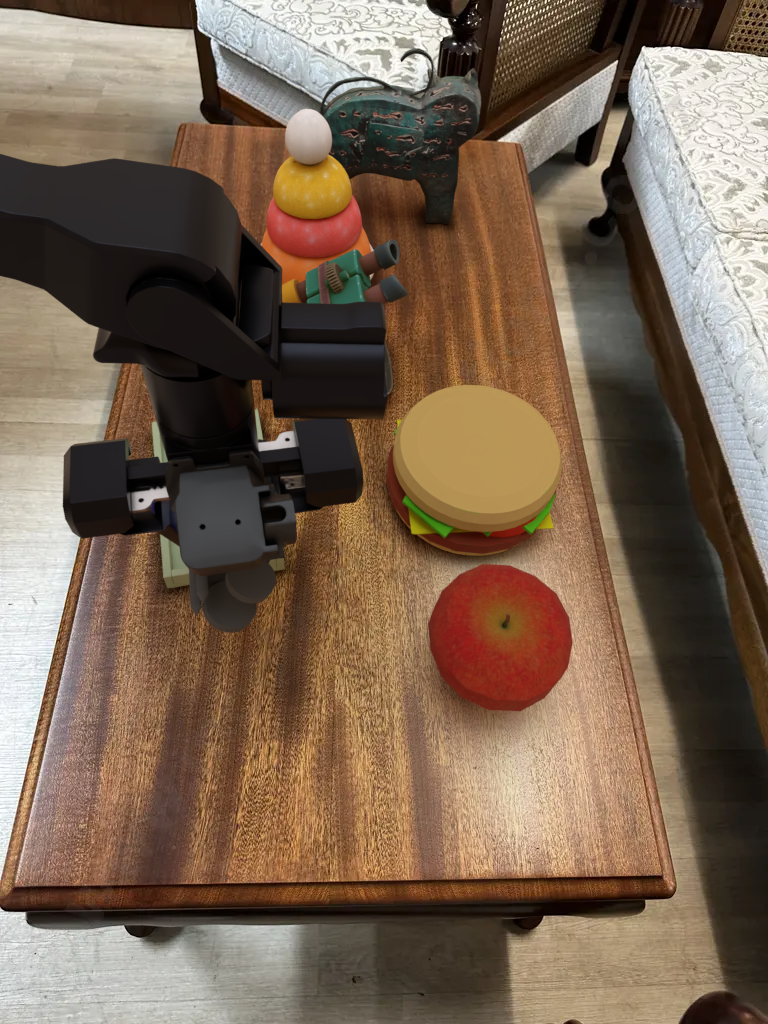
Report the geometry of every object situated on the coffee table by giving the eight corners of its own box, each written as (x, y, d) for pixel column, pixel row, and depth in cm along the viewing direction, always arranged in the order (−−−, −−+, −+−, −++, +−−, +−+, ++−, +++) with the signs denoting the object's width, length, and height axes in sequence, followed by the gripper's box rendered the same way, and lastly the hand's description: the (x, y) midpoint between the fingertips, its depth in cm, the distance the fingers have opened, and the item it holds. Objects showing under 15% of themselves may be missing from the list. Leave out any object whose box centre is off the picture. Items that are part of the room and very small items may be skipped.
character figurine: (192, 646, 52) (189, 478, 60) (292, 632, 53) (277, 467, 61) (165, 600, 45) (166, 418, 53) (280, 584, 46) (264, 406, 54)
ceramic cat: (460, 205, 96) (490, 43, 79) (462, 236, 93) (494, 74, 76) (312, 193, 95) (310, 27, 78) (308, 224, 92) (305, 57, 75)
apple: (522, 758, 58) (565, 713, 48) (398, 706, 59) (414, 652, 49) (556, 639, 64) (601, 577, 53) (442, 594, 65) (465, 526, 55)
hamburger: (377, 430, 75) (383, 377, 68) (529, 426, 77) (549, 374, 70) (392, 569, 66) (400, 524, 59) (563, 561, 68) (589, 516, 61)
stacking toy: (373, 237, 91) (385, 77, 75) (376, 316, 84) (390, 157, 67) (260, 232, 90) (247, 69, 74) (253, 311, 83) (236, 149, 66)
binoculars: (330, 346, 85) (256, 257, 73) (438, 296, 81) (376, 192, 69) (340, 439, 78) (259, 357, 66) (459, 390, 73) (394, 292, 61)
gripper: (24, 542, 36) (101, 657, 49) (390, 494, 39) (370, 613, 52) (33, 376, 41) (100, 518, 54) (352, 346, 45) (343, 487, 58)
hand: (229, 536), depth 55 cm, fingers closed on character figurine, 6 cm apart
